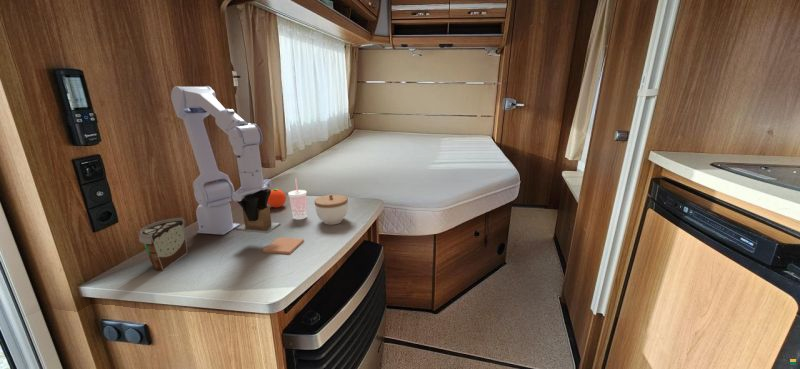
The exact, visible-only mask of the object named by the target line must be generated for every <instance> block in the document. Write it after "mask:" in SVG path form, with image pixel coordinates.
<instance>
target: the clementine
mask: <svg viewBox="0 0 800 369" xmlns="http://www.w3.org/2000/svg"><path fill="white" fill-rule="evenodd" d="M270 190H271V194H270V196H269V198H268V202H267V205H268V206H269V207H272V208H275V209H276V208H281V207H282V206H283V205H285V203H286V198H287V196H286V194H285V192H284V191H282V190H281V189H279V188H274V189H270Z"/></svg>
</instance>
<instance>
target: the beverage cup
mask: <svg viewBox="0 0 800 369" xmlns="http://www.w3.org/2000/svg"><path fill="white" fill-rule="evenodd" d="M294 180H295V190H290V191H289V192H288V193H287V195H288V198H289V203H290V208H291V213H292V217H293V219H294V220H303V219H306V218H308V210H307V190H305V189H299V188H298V180H297V177H295V178H294Z"/></svg>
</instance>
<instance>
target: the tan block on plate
mask: <svg viewBox="0 0 800 369" xmlns="http://www.w3.org/2000/svg"><path fill="white" fill-rule="evenodd" d="M242 214H243V215H242V216H243V221H244V223H243V224H242V225H241V224H240V225H239V226H238V227H236V228H235V231H237V232H239V231H240V232H249V233H261V234H270V233H271V232H273V231H274V230H275V229H277V228H279V227H280V226H281V223H280V222H272V217H271V209H270V205H267V206H258V205H257V220H256V221H249V220H248V218H247V215H246V213H245V211H244V210H243V209H242Z"/></svg>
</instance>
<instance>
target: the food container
mask: <svg viewBox="0 0 800 369" xmlns="http://www.w3.org/2000/svg"><path fill="white" fill-rule="evenodd" d="M185 225H186V221H185V219H184V218H183V217H174V218H168V219H164V220H159V221H156V222H153V223H150V224H148V225H146V226H144V227H142V228H141V230H140V231H139V235H138V236H139V238H138V241H139V242H140V243H141V244H143V245H144V248H145V250H146V253H147V255H148V258H149V260H150V263H151V266H152V269H153V270H154V271H158V272H159V271H160V272H164V271H165V270H167V269H168V268H169V267H171V266H172V265H173V264H175V263H176V262H177V261H179V260H181V259H182V258H183V257H184V256H186V255H187V254H189V252H188V246H187V244H188V243H187V238H186V237H187V236H186V230H185Z"/></svg>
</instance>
